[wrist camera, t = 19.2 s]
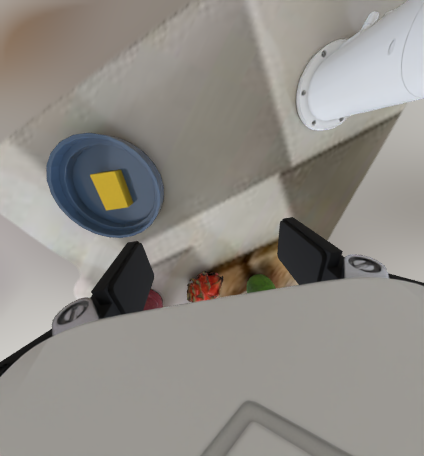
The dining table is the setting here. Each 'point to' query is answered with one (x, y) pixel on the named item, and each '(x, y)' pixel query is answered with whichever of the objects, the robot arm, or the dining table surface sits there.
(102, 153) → the bowl
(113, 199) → the sponge
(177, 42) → the dining table surface
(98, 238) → the dining table surface
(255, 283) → the avocado
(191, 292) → the dragon fruit
